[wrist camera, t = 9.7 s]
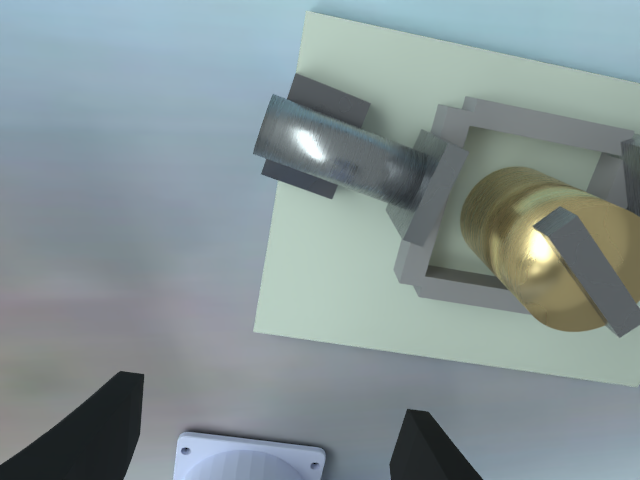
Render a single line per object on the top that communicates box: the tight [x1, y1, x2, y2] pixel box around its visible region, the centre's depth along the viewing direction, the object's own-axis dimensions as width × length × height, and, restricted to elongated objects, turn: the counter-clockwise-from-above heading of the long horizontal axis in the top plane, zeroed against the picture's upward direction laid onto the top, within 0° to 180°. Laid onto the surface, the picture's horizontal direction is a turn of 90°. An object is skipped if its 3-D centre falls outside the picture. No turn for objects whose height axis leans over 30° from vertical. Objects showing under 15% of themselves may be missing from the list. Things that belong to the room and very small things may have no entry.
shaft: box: [253, 73, 469, 247], centre depth 18 cm, size 7×4×5 cm, turn 69°
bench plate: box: [253, 11, 640, 387], centre depth 20 cm, size 14×20×2 cm
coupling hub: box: [460, 166, 640, 338], centre depth 17 cm, size 5×4×7 cm
